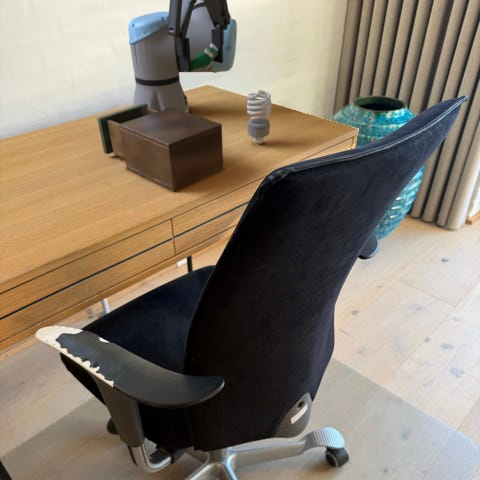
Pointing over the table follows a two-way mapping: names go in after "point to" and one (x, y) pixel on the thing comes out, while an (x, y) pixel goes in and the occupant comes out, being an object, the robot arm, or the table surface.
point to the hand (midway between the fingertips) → (202, 66)
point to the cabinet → (172, 147)
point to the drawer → (112, 130)
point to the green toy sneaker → (204, 58)
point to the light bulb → (258, 124)
